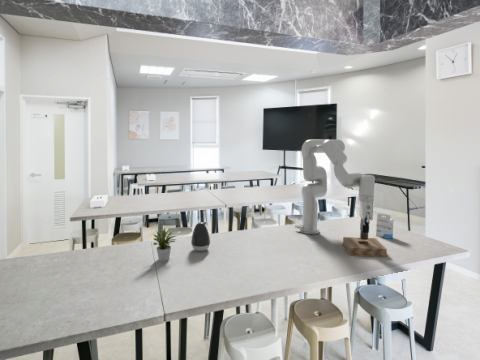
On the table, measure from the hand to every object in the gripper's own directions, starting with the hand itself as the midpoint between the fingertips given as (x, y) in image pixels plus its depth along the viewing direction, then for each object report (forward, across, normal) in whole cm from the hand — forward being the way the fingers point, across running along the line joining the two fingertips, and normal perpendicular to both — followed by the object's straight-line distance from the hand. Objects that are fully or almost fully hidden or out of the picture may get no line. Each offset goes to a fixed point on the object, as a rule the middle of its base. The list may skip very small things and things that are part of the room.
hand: (364, 231), depth 168 cm
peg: (+4, 0, 0) cm, 4 cm away
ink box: (+11, +26, -19) cm, 34 cm away
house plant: (+11, -28, +103) cm, 107 cm away
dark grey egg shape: (+11, -11, +88) cm, 89 cm away
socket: (+11, 0, 0) cm, 11 cm away
